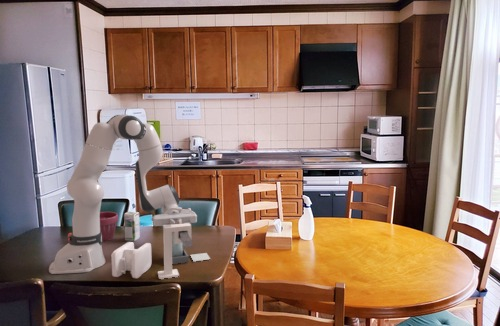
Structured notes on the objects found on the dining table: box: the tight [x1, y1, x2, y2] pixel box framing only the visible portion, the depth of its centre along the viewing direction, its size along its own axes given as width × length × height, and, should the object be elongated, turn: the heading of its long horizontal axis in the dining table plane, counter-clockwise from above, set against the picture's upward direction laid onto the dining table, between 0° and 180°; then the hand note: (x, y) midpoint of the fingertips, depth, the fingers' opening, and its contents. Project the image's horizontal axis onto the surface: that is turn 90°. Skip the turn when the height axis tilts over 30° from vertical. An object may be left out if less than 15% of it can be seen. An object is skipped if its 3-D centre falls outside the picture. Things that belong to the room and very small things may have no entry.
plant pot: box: [100, 211, 119, 242], centre depth 199 cm, size 14×14×13 cm
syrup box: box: [123, 211, 141, 242], centre depth 198 cm, size 6×6×14 cm
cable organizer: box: [110, 241, 153, 279], centre depth 156 cm, size 15×11×12 cm
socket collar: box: [172, 248, 190, 265], centre depth 171 cm, size 9×9×3 cm
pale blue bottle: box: [172, 232, 184, 257], centre depth 170 cm, size 5×5×14 cm
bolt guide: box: [157, 223, 193, 280], centre depth 155 cm, size 14×6×21 cm, turn 110°
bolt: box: [178, 223, 193, 248], centre depth 152 cm, size 4×21×4 cm, turn 20°
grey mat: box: [189, 252, 211, 263], centre depth 174 cm, size 8×8×1 cm
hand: (177, 223), depth 167 cm, fingers closed
